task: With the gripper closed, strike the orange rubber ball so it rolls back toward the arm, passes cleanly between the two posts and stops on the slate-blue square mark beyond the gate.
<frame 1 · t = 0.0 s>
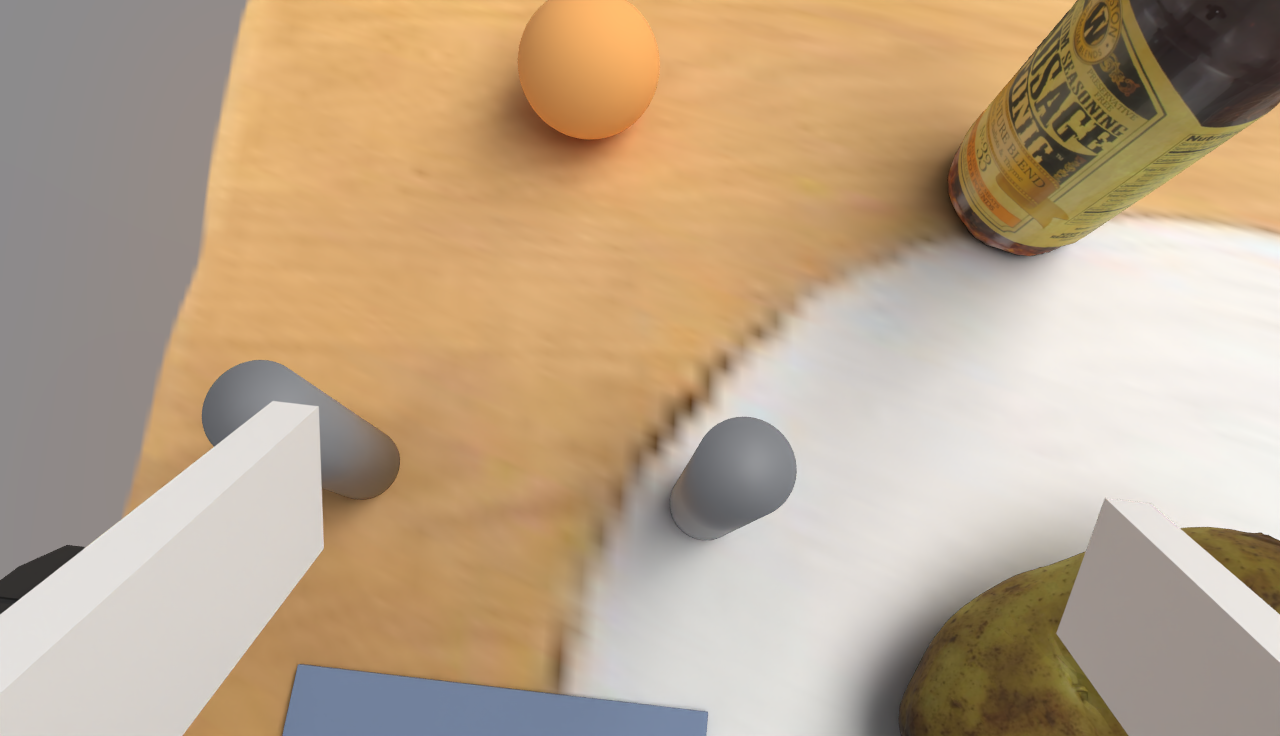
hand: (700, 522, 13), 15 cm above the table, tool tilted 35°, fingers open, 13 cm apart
potato: (1048, 659, 27), on the table
ball: (589, 65, 30), on the table
post 2: (363, 463, 28), on the table
post 1: (705, 503, 28), on the table
sauce bottle: (1010, 202, 32), on the table
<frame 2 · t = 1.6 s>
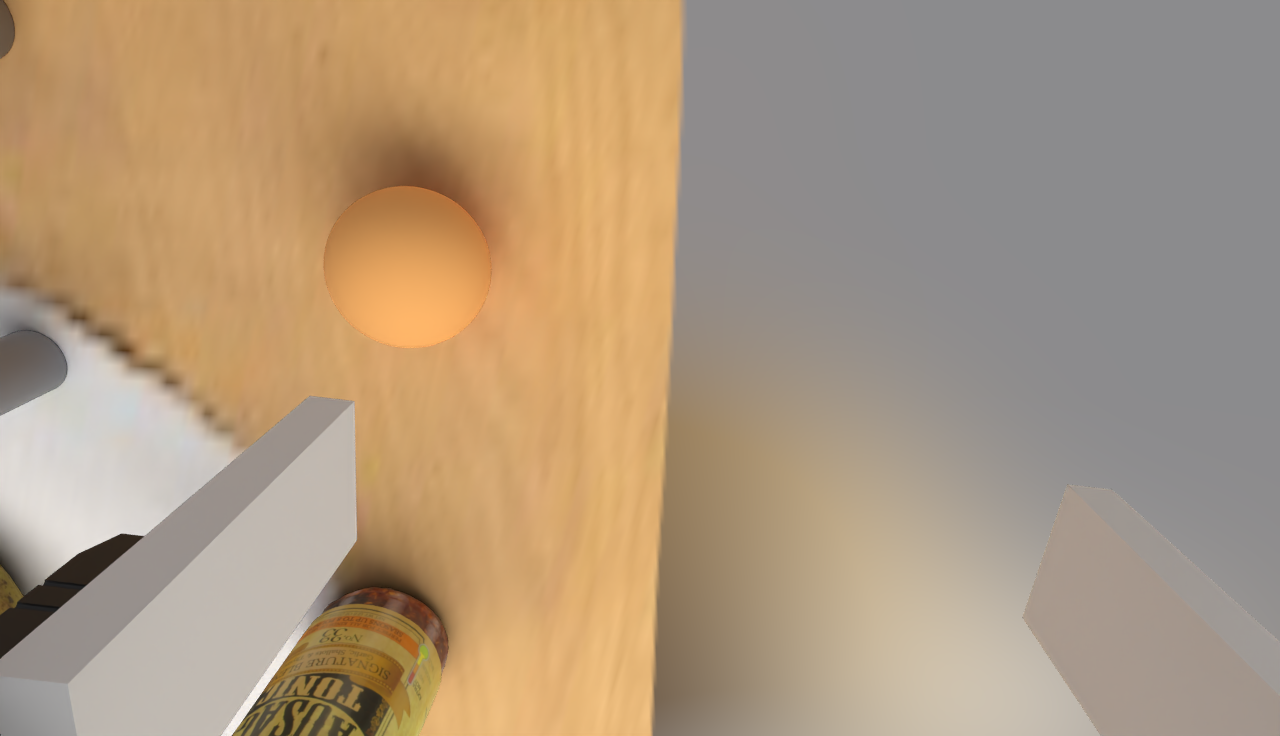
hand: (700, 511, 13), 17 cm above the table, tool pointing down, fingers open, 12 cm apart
ball: (410, 268, 27), on the table
post 1: (34, 361, 31), on the table
sauce bottle: (383, 632, 35), on the table
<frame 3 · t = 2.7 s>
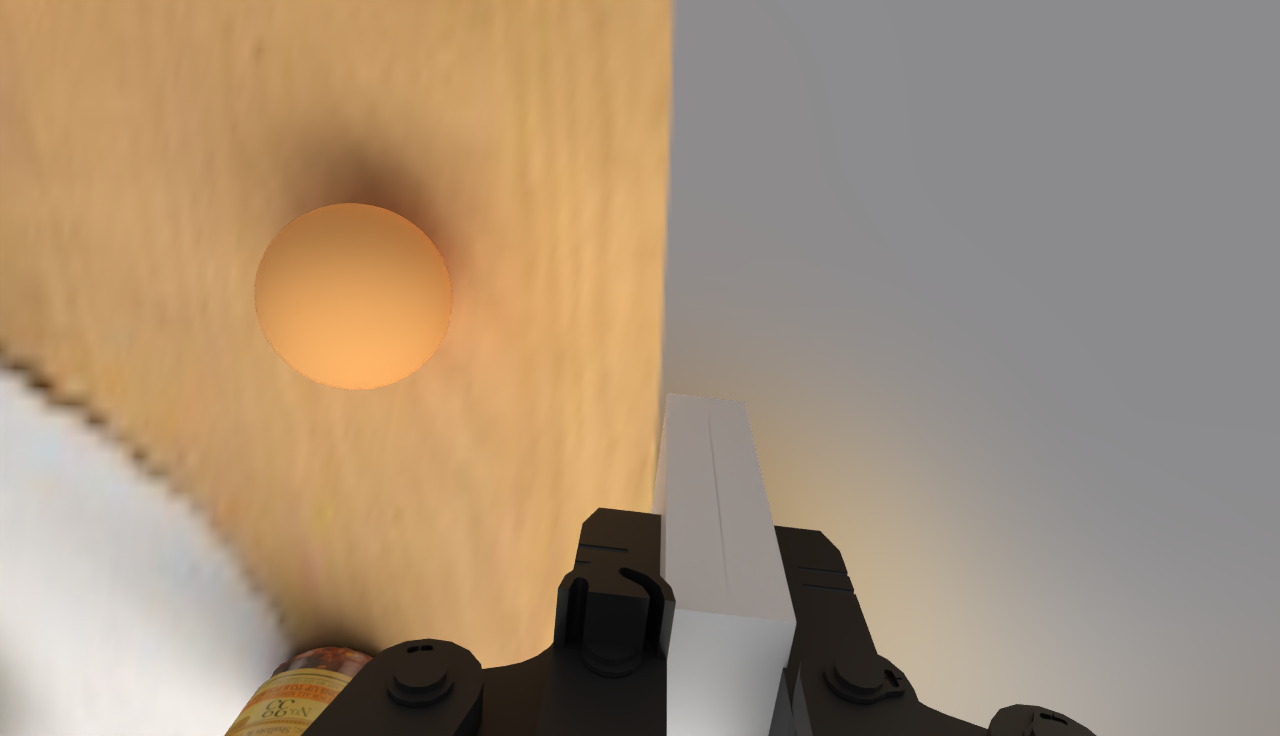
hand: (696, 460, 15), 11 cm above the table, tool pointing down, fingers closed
ball: (357, 297, 23), on the table
sauce bottle: (342, 694, 32), on the table
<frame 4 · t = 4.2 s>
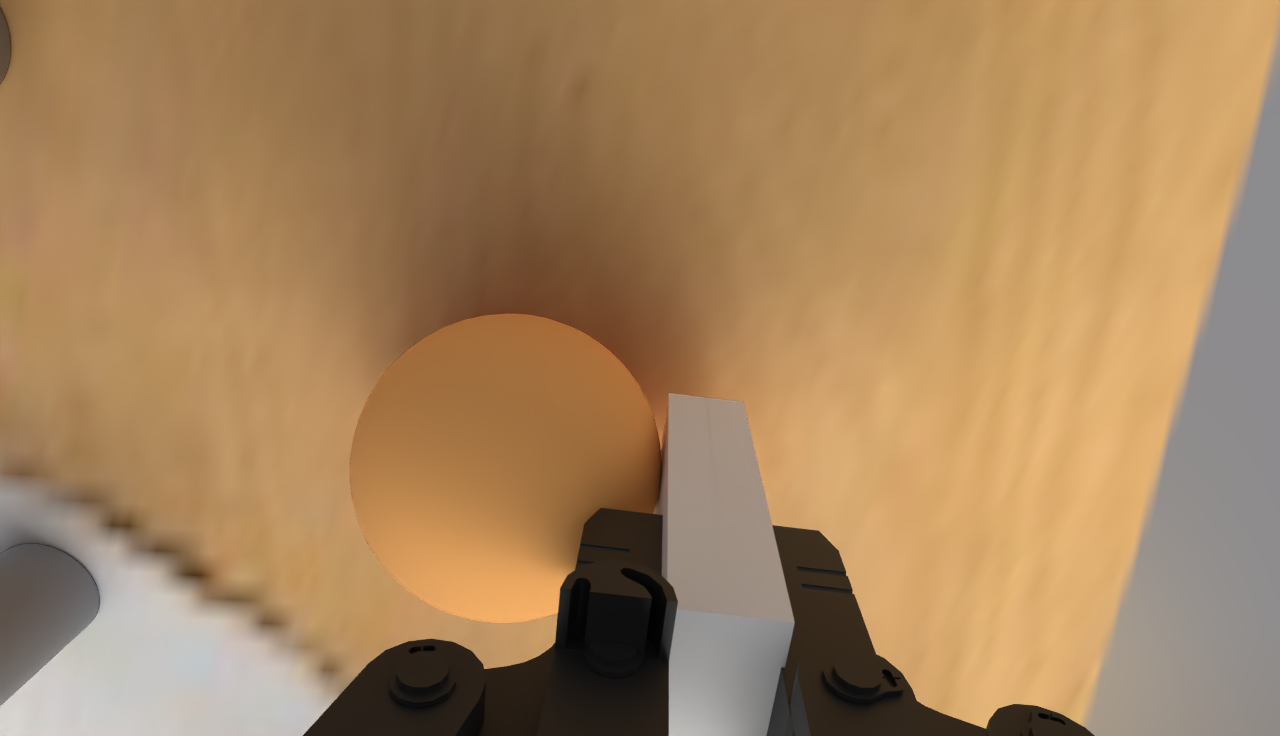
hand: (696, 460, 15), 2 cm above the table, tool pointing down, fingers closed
ball: (510, 464, 14), on the table, touching gripper
post 1: (45, 589, 19), on the table
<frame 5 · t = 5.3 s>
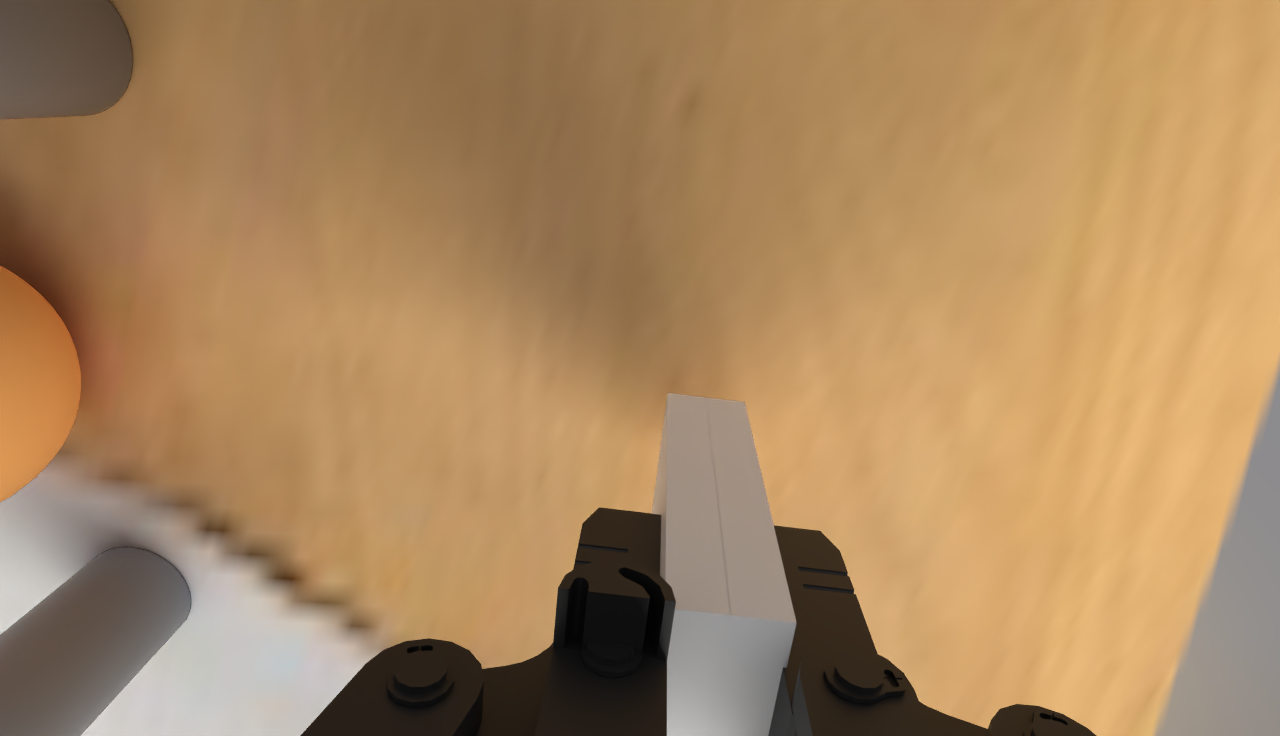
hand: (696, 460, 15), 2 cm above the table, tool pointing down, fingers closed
post 2: (64, 44, 15), on the table
post 1: (138, 592, 19), on the table
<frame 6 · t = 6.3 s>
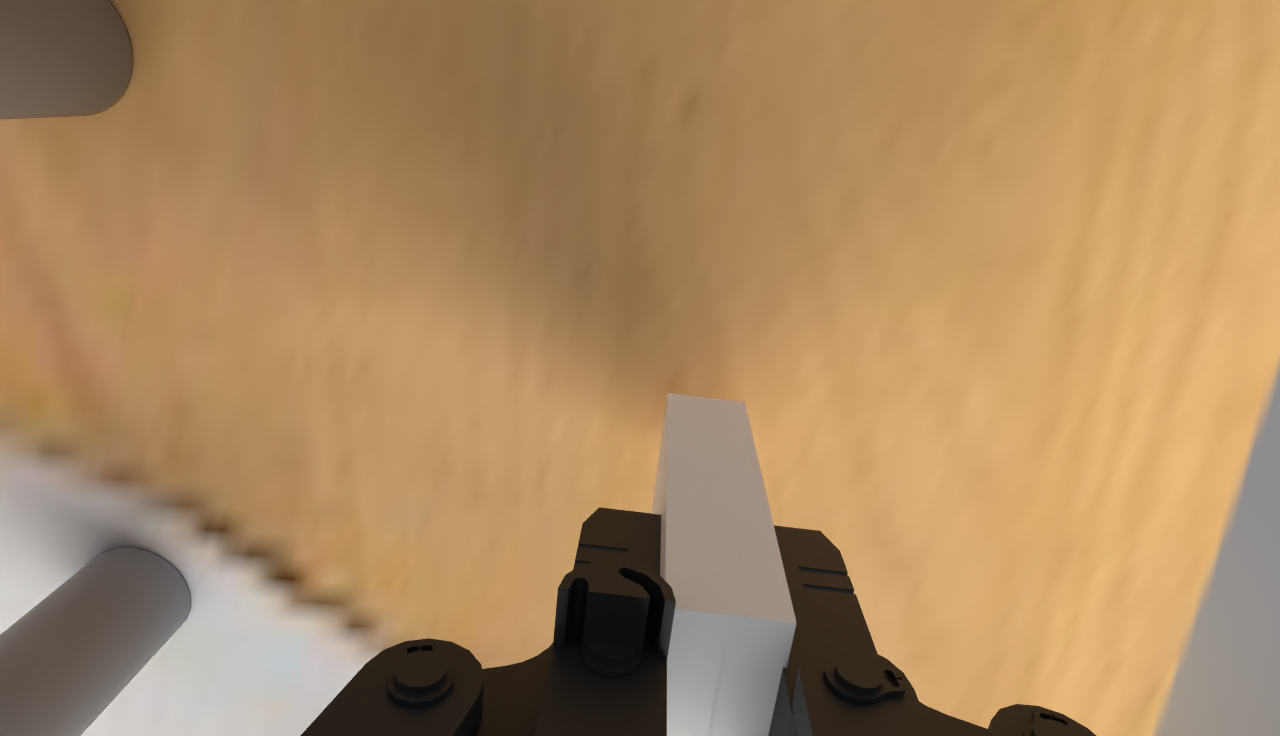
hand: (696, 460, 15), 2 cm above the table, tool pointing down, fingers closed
post 2: (64, 44, 15), on the table
post 1: (138, 592, 19), on the table
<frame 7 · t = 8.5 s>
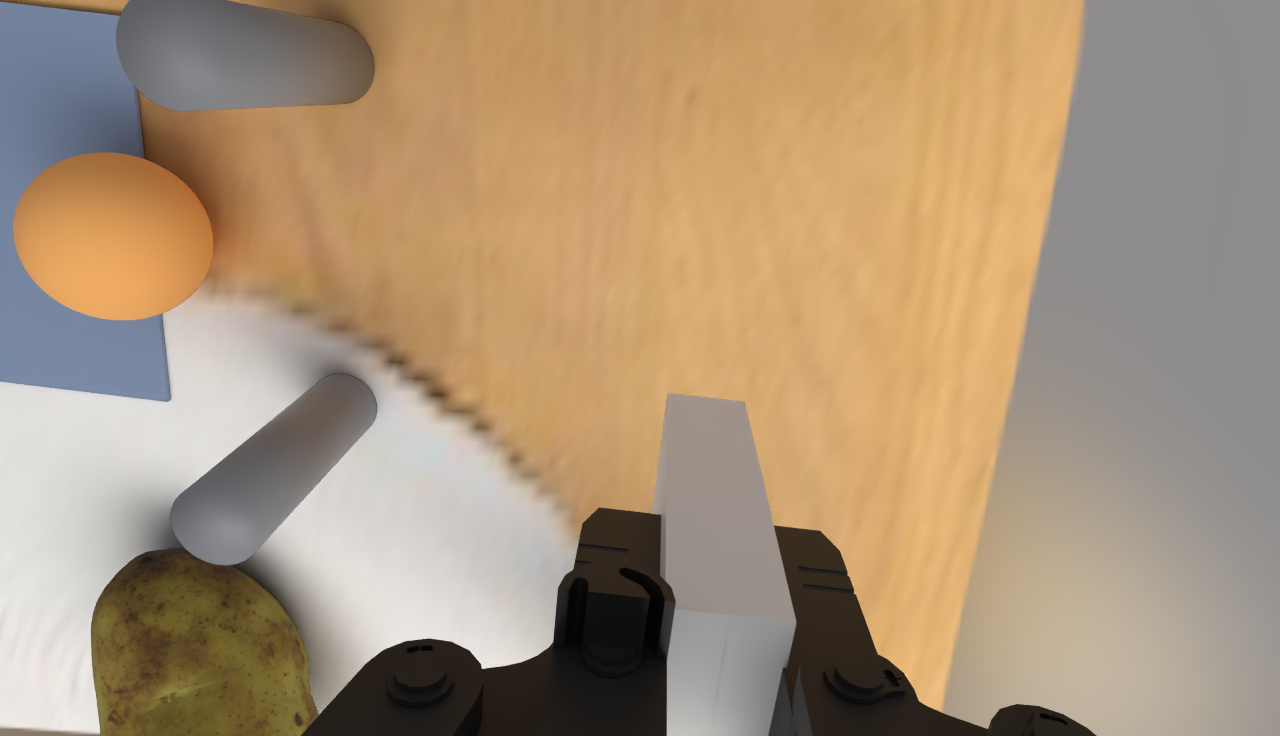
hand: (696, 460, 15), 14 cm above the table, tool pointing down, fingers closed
potato: (262, 646, 35), on the table
ball: (119, 237, 26), on the table
post 2: (336, 63, 26), on the table
post 1: (344, 404, 30), on the table
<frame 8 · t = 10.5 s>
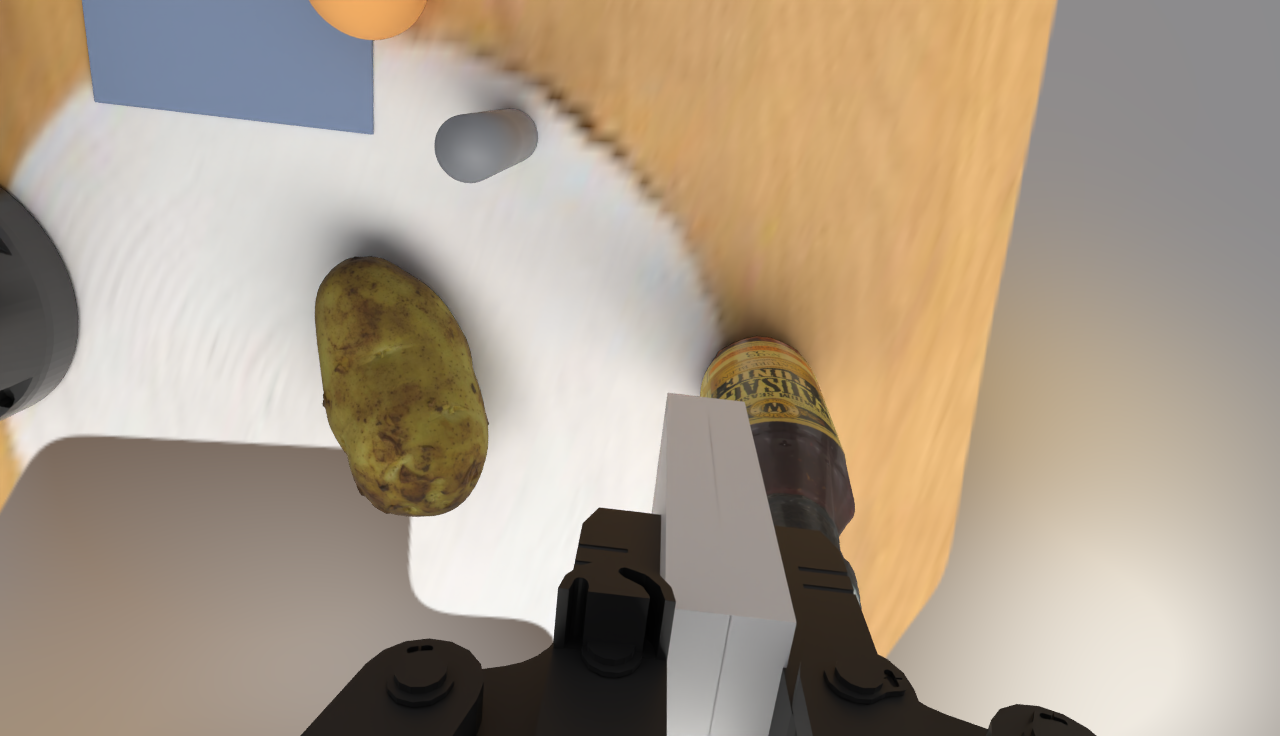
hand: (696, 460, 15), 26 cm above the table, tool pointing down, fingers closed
potato: (427, 359, 43), on the table
post 1: (511, 136, 39), on the table
sauce bottle: (751, 382, 43), on the table
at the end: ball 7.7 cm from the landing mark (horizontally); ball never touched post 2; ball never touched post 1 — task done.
